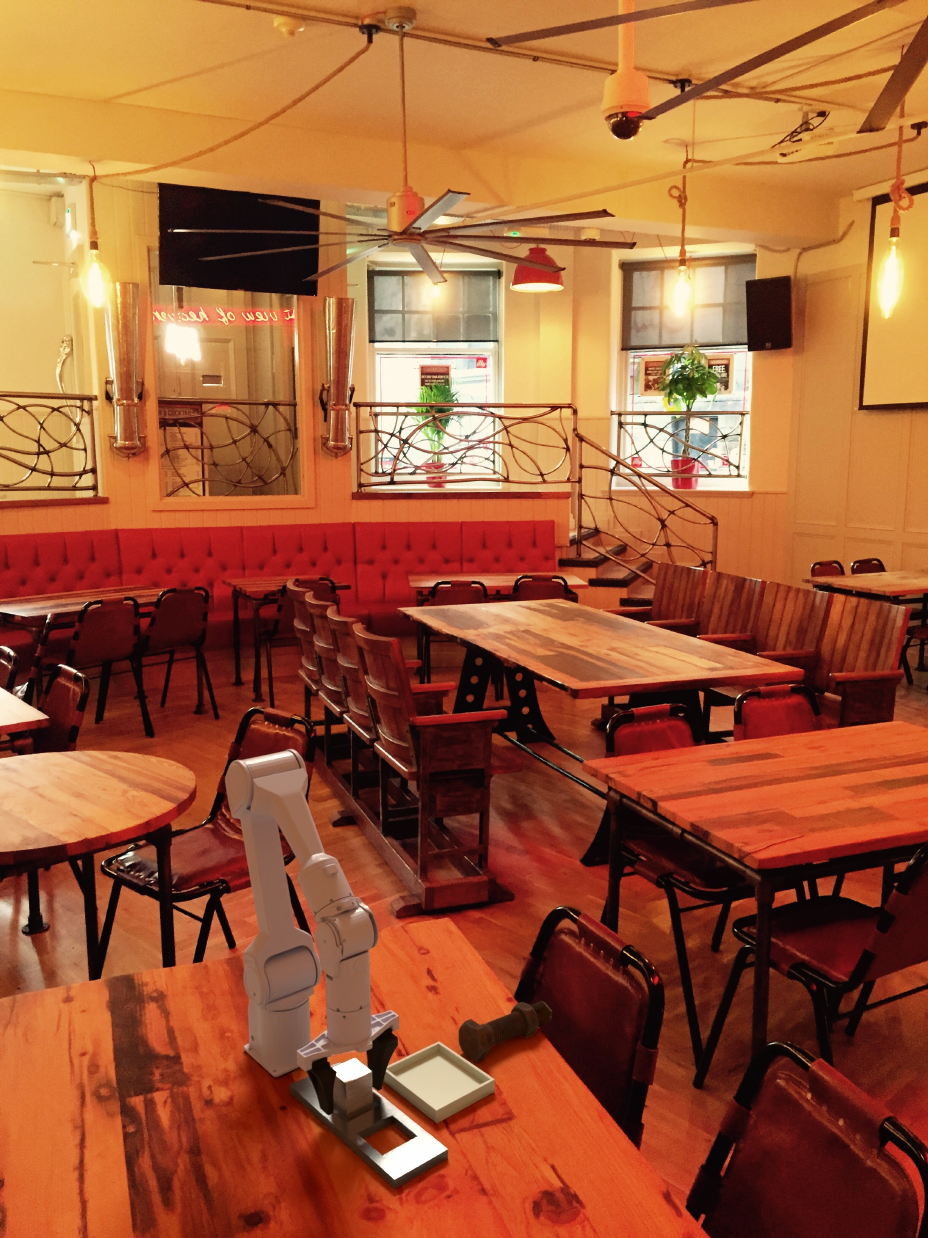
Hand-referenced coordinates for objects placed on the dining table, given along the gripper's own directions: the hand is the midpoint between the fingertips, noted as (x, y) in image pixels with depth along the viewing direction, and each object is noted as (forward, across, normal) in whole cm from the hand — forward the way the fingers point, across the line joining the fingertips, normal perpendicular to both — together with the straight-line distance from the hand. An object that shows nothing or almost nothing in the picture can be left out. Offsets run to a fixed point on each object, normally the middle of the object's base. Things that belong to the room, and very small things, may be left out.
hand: (351, 1098), depth 127 cm
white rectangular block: (+2, 0, 0) cm, 2 cm away
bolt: (+2, +27, -1) cm, 27 cm away
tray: (+2, +12, -3) cm, 13 cm away
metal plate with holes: (+2, 0, -3) cm, 4 cm away
